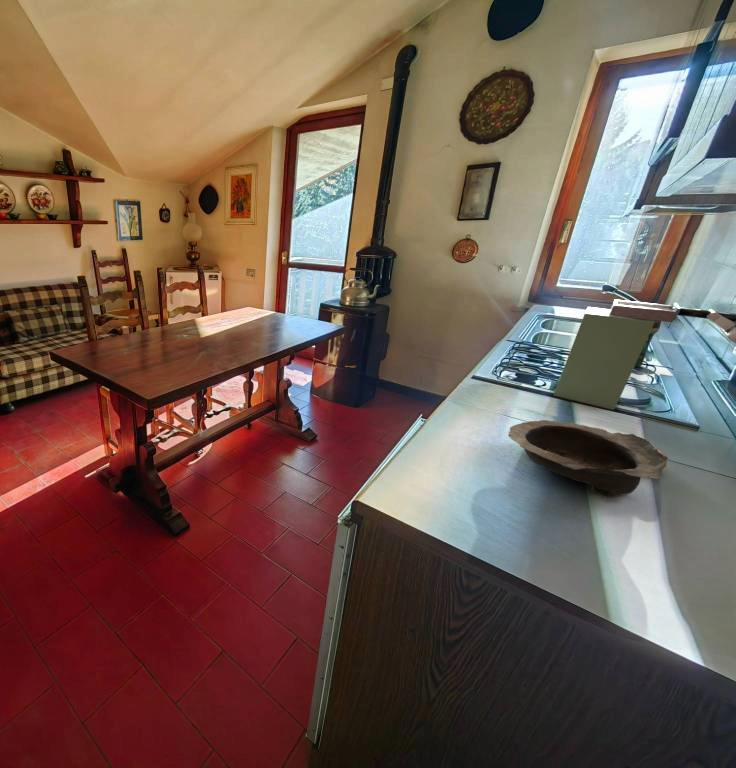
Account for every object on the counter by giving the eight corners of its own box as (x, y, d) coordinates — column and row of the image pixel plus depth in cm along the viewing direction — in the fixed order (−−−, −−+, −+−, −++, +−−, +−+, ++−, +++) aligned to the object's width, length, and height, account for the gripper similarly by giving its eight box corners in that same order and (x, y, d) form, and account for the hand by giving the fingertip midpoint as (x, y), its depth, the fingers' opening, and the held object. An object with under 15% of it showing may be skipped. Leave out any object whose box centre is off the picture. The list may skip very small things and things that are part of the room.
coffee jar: (607, 363, 148) (627, 315, 141) (606, 357, 154) (626, 311, 146) (642, 369, 143) (666, 319, 135) (640, 363, 148) (662, 315, 141)
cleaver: (733, 323, 100) (740, 309, 98) (740, 331, 93) (748, 316, 92) (610, 309, 114) (615, 296, 113) (609, 314, 108) (615, 301, 106)
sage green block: (614, 397, 120) (652, 314, 110) (614, 410, 112) (654, 322, 102) (557, 384, 129) (587, 306, 118) (553, 395, 121) (584, 313, 110)
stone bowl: (684, 522, 70) (705, 480, 67) (519, 498, 79) (530, 459, 75) (614, 449, 92) (627, 415, 88) (490, 437, 100) (497, 404, 97)
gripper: (761, 369, 89) (699, 329, 94) (743, 349, 103) (689, 315, 108) (798, 349, 85) (731, 309, 90) (775, 331, 99) (717, 297, 103)
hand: (708, 312), depth 99 cm, fingers closed on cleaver, 2 cm apart
